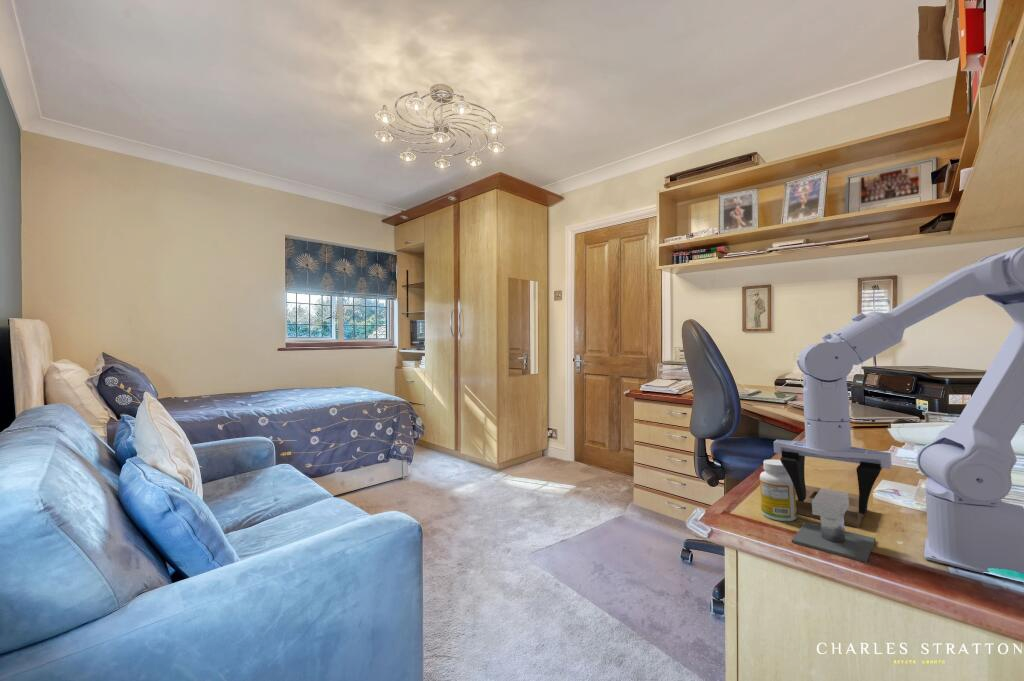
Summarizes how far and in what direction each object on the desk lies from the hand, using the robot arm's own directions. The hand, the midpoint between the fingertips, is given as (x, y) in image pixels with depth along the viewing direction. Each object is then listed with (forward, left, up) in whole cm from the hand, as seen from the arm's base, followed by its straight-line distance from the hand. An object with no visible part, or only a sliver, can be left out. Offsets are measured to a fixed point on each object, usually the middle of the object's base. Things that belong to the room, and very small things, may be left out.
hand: (831, 505), depth 64 cm
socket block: (+3, -14, -6) cm, 15 cm away
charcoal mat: (0, 0, -6) cm, 6 cm away
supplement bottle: (+9, -6, -6) cm, 12 cm away
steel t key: (0, 0, -5) cm, 5 cm away
